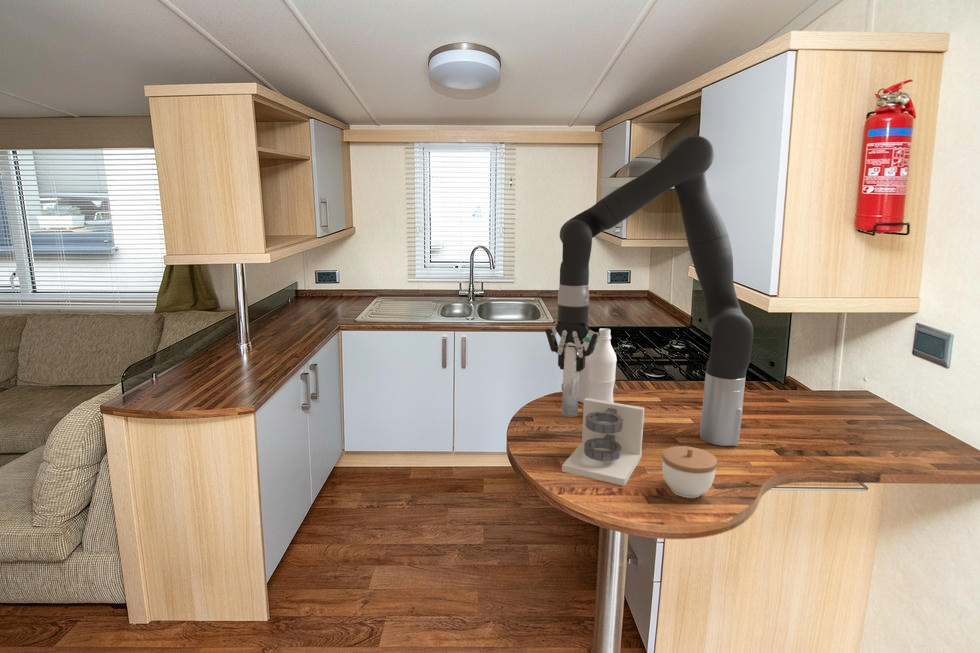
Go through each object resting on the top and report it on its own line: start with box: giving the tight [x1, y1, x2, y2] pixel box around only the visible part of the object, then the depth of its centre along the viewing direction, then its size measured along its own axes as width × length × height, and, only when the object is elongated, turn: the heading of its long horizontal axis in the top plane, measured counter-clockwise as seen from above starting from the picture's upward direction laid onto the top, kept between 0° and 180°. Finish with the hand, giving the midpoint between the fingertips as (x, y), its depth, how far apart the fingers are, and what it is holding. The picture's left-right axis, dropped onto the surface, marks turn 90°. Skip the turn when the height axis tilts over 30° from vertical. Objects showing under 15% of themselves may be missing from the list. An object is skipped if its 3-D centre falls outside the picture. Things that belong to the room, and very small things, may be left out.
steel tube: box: [561, 343, 579, 418], centre depth 148 cm, size 4×4×18 cm
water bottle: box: [589, 327, 618, 403], centre depth 160 cm, size 7×7×25 cm
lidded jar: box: [661, 445, 718, 499], centre depth 121 cm, size 11×11×9 cm
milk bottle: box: [578, 334, 598, 404], centre depth 174 cm, size 8×8×20 cm
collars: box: [584, 408, 623, 461], centre depth 133 cm, size 8×11×8 cm
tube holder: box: [561, 398, 645, 487], centre depth 133 cm, size 14×16×12 cm
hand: (571, 369), depth 148 cm, fingers closed on steel tube, 4 cm apart
